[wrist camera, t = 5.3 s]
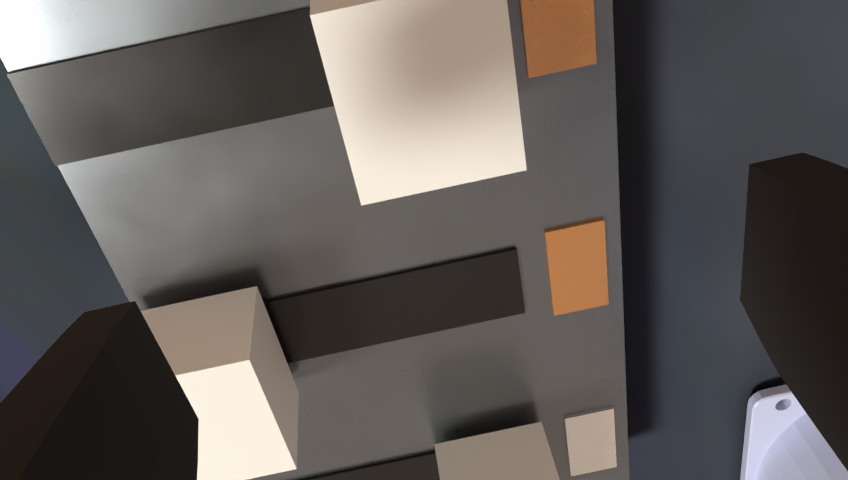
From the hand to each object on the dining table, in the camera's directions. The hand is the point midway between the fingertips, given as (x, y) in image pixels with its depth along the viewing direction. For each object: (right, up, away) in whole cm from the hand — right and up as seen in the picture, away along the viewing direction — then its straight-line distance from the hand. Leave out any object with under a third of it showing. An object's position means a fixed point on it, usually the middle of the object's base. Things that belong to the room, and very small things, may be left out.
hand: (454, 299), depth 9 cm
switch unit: (-1, 0, +11) cm, 11 cm away
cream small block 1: (-5, -2, +9) cm, 11 cm away
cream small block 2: (-1, +4, +5) cm, 7 cm away
